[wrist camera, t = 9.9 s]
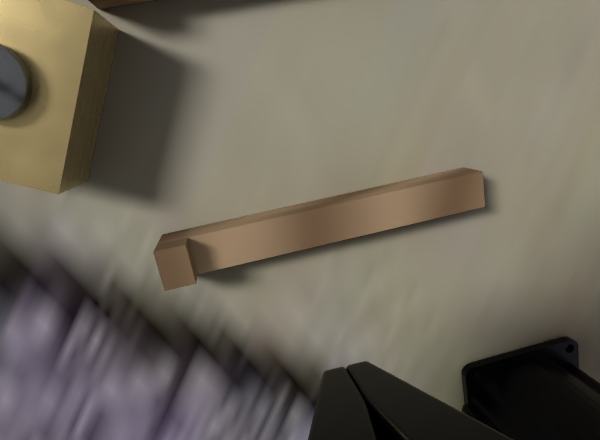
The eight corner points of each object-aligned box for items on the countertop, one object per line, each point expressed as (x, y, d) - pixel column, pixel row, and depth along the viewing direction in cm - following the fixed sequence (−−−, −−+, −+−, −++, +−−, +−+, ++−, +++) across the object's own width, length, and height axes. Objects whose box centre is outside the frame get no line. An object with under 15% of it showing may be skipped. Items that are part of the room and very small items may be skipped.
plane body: (441, -90, 17) (476, -123, 15) (466, 200, 21) (498, 211, 18) (85, -38, 16) (60, -66, 13) (172, 269, 19) (165, 291, 17)
